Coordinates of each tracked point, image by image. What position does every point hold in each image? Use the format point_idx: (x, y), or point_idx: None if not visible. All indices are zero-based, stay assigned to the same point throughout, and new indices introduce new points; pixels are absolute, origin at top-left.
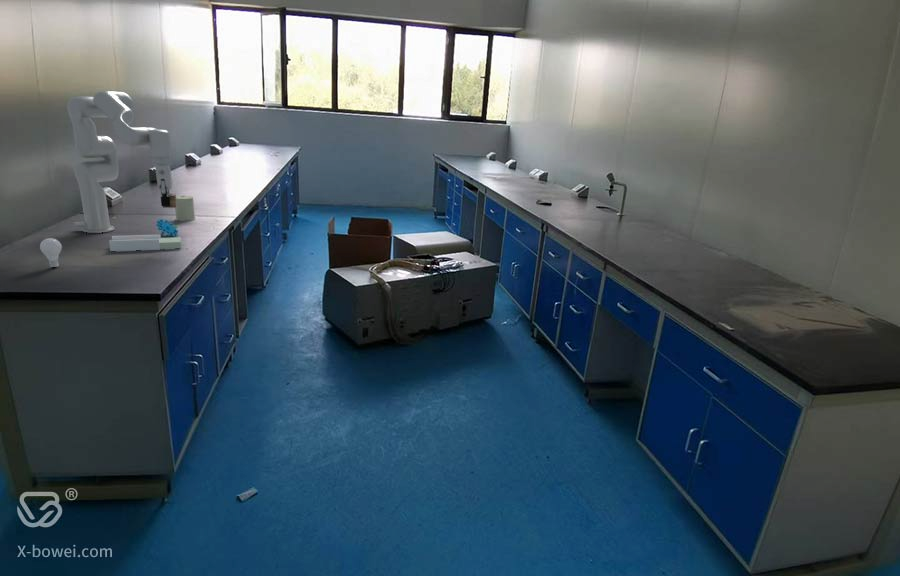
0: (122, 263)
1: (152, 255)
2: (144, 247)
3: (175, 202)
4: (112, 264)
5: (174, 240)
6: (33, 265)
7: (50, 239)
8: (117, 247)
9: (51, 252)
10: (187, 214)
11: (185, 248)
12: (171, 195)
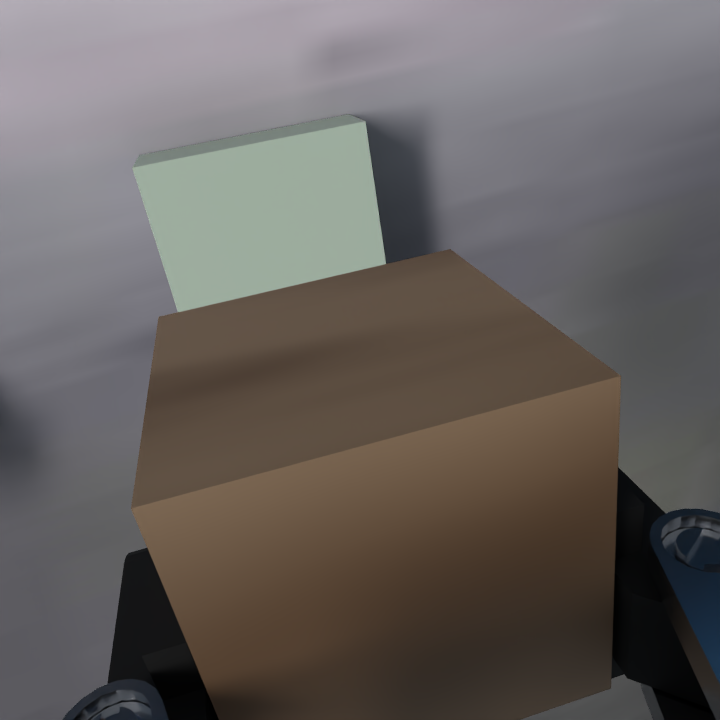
0: (702, 403)
1: (546, 293)
2: None
3: (504, 295)
4: (707, 443)
5: (298, 202)
6: (632, 716)
7: None
8: None
9: None
10: None
11: (330, 73)
12: (588, 491)
